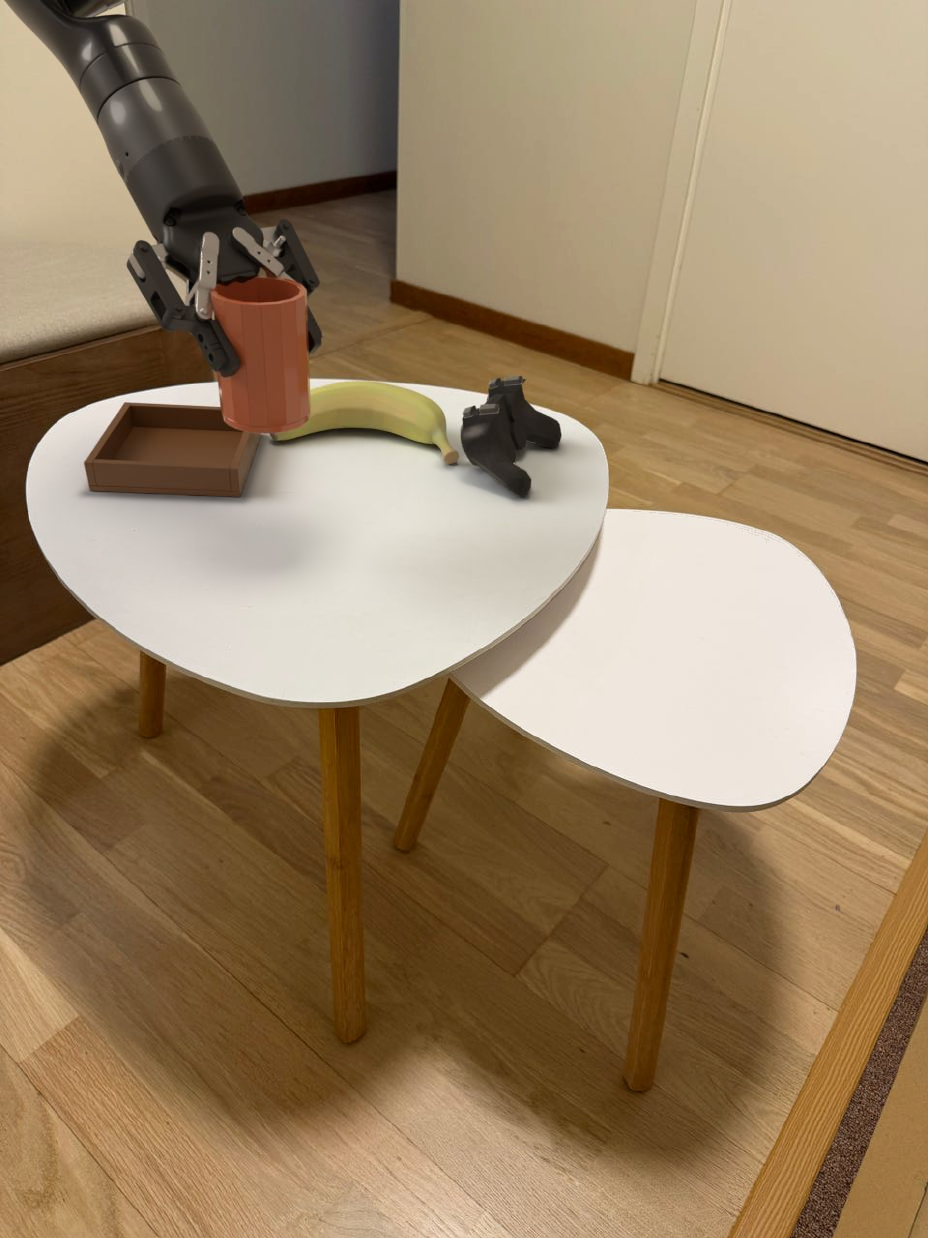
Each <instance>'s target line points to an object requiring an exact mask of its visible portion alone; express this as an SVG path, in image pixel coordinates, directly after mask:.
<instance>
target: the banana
mask: <svg viewBox="0 0 928 1238" xmlns="http://www.w3.org/2000/svg"><path fill="white" fill-rule="evenodd" d="M310 397H311V408H310V418H309V420H308V421H307V422H306V423H305V424H304V425H302V426H301V427H299V428H296V429H293V430H290V431H286V432H280V433H268V435H269V436H270V438H271V439H272V440H273V441H287V440H292V439H293V440H294V439H296V438H299V437H303V436H306V435H309V434H313V433H318V432H322V431H327V430H333V429H335V430H336V429H344V428H347V429H348V428H356V429H357V428H358V429H359V428H360V429H374V430H378V431H384V432H389V433H392V434H395V435H397V436H401V437H404V438H406V439H408V440H411V441H414V442H418V443H420V444H421V443H423V444H430V445H436V446H437V447H438V448H439V449H440V451H441V454H442V458H443V461H444V463H445V464H450V465H452V464H455V463H457V462H459V459H460V455H459V452H458V451H457V450H456V449H454V448H453V447H452V446H451V444H450V443H449V440H448V435H447V418H446V414H445V413H444V411H443V409H442V408H441V407H440V405H439V404H438V403H436V401H434V400H433V399H431V398H430V397H429V396H427V395H425V394H422V393H420V392H417V391H415V390H414V389H413V390H412V389H409V388H407V387H403V386H399V385H395V384H391V383H387V382H379V381H370V380H369V381H368V380H353V381H351V380H350V381H340V382H334V383H333V382H332V383H329V384H328V383H327V384H325V385H321V386H317V387H314V388H310Z"/></svg>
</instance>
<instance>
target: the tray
mask: <svg viewBox="0 0 928 1238" xmlns="http://www.w3.org/2000/svg"><path fill="white" fill-rule="evenodd" d="M261 436H262V433H251V432H245V431H241V430H238V429H235V428H233V427H231V426H229V425H228V424H227V423H226V422H225V421H224V420H223V417H222V410H221V407H220V406H209V405H189V404H171V403H169V404H167V403H150V402H147V403H146V402H129V401H125V402H123V403H122V405H121V407H120V408H119V409H118V411H117V413H116V414H115V416H114V417H113V418H112V420H111V421H110V422H109V424H108V426H107V427H106V429H105V430H104V432H103V434H101V436H100V438H99V439H98V440H97V443H96V444H95V445H94V446H93V448H92V449H91V451H90V452H89V454H88V455H87V457H86V459H85V460H84V462H83V465H84V470H85V475H86V480H87V483H88V489H89V491H90V492H112V493H113V492H114V493H137V494H159V495H160V494H161V495H184V496H209V497H231V498H232V497H234V498H240V497H241V495H242V492H243V489H244V487H245V483H246V480H247V478H248V475H249V472H250V468H251V466H252V463H253V460H254V457H255V455H256V451H257V448H258V445H259V442H260V439H261Z"/></svg>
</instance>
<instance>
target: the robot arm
mask: <svg viewBox="0 0 928 1238" xmlns="http://www.w3.org/2000/svg"><path fill="white" fill-rule="evenodd" d="M3 1H4V2H5V3H6V5H7V6H8V7H9V9H11V11H12V12H13V13H14V14H15V16H16V17H17V18H18V19H19V20H20V21H21V22H22V23H23V24H24V25H25V26H26V27H27V28H28V29H29V30H30V32H31V33H33V35H34V36H36V37H37V39H38V40H39V41H40V42H41V43H42V44H43V45H44V46H45V47H46V48H47V49H48V50H49V51H50V52H51V54H52V55H53V56H54V57H55V58H56V59H57V61H58V62H59V64H61V65H62V67H63V68H64V70H65V71H66V73H67V74H68V76H69V78H70V79H71V80H72V82H73V83H74V85H75V88H76V89H77V91H78V92H79V94H80V95H81V98H82V99H83V101H84V103H85V105H86V107H87V109H88V111H89V113H90V114H91V117H92V118H93V120H94V122H95V124H96V126H97V128H98V130H99V132H100V134H101V135H102V138H103V140H104V143H105V146H106V149H107V152H108V154H109V157H110V159H111V161H112V162H113V165H114V167H115V169H116V171H117V174H118V175H119V177H120V178H121V180H122V182H123V183H124V185H125V187H126V189H127V191H128V192H129V195H130V196H131V198H132V201H133V202H134V204H135V206H136V208H137V210H138V212H139V214H140V215H141V217H142V219H143V221H144V223H145V225H146V226H147V229H148V230H149V232H150V234H151V236H152V238H153V239H154V240H155V241H156V242H157V243H158V244H150V243H149V242H148V241H146V240H143V239H139V240H137V241H136V242H135V244H134V246H133V248H132V250H131V253H130V255H129V257H128V259H127V261H126V264H125V265H126V269H127V270H128V272H129V274H130V276H131V277H132V279H133V281H134V283H135V284H136V286H137V287H138V289H139V291H140V292H141V294H142V296H143V299H144V300H145V301H146V303H147V305H148V307H149V308H150V310H151V312H152V313H153V315H154V317H155V319H156V320H157V322H158V324H159V326H160V327H161V329H162V330H163V331H165V332H167V333H175V332H176V331H185V332H187V333H189V334H190V335H192V336H193V337H194V339H195V340H196V343H197V344H198V346H199V348H200V350H201V352H202V354H203V355H204V358H205V359H206V361H207V363H208V365H209V367H210V368H211V369H212V370H213V371H214V372H215V373H217V372H218V371H219V372H220V374H221V376H222V377H223V378H226V377H230V376H233V375H234V374H235V373H236V371H237V370H238V369H239V367H240V360H239V358H238V356H237V354H236V352H235V350H234V348H233V347H232V345H231V343H230V341H229V339H228V337H227V336H226V334H225V332H224V330H223V328H222V326H221V324H220V323H219V321H218V319H215V320H212V314H213V304H212V300H211V296H210V291H215V289H216V284H220V285H223V286H224V285H225V286H229V285H230V284H232V283H233V282H240V283H245V282H247V281H249V280H251V279H253V277H254V278H255V277H256V276H257V275H259V274H260V271H261V270H263V271H264V273H265V276H269V277H274V278H278V277H280V278H285V279H290V280H293V281H295V282H298V283H300V284H302V285H303V286H304V287H305V288H306V290H307V301H308V300H309V298H310V296H311V295H312V294H313V293H314V292H315V290H317V289H318V287H319V286H320V279H319V277H318V274H317V273H316V270H315V268H314V267H313V265H312V263H311V261H310V259H309V257H308V254H307V251H305V250H306V249H304V246H303V244H302V242H301V240H300V238H299V236H298V234H297V232H296V230H295V228H294V226H293V223H292V222H291V221H290V220H288V219H285V218H280V219H279V221H278V222H277V224H276V225H274V226H266V227H260V226H259V225H258V224H257V223H256V222H255V221H254V220H253V219H252V218H251V217H250V216H249V215H248V212H247V209H246V206H245V201H244V197H243V193H242V191H241V189H240V187H239V185H238V183H237V182H236V180H235V178H234V176H233V174H232V172H231V170H230V168H229V167H228V165H227V162H226V161H225V158H224V157H223V155H222V153H221V151H220V149H219V147H218V145H217V144H216V142H215V140H214V137H213V136H212V134H211V132H210V130H209V128H208V126H207V125H206V123H205V121H204V118H203V117H202V115H201V114H200V112H199V110H198V109H197V108H196V106H195V105H194V103H193V102H192V101H191V99H190V98H189V96H188V95H187V92H185V90H184V88H183V86H182V84H181V82H180V80H179V79H178V77H177V75H176V73H175V71H174V69H173V68H172V65H171V63H170V61H169V59H168V58H167V56H166V53H165V52H164V50H163V48H162V46H161V44H160V43H159V41H158V39H157V37H156V35H155V34H154V32H153V31H152V30H151V28H150V27H149V26H148V25H147V24H146V23H145V22H144V21H142V20H141V19H139V18H137V17H134V16H132V15H129V14H121V13H115V14H114V13H113V14H104V15H103V13H105V12H107V11H111V10H113V9H114V8H116V7H118V6H120V5H123V4H125V3H126V2H128V0H3ZM264 248H265V249H264ZM167 267H169V268H170V269H172V270H173V271H175V272H176V273H178V274H179V275H181V276H182V277H183V278H185V279H186V282H185V283H186V284H185V297H184V298H185V299H184V300H185V301H184V300H183V299H182V297H181V296H180V294H179V292H178V290H177V288H176V287H175V285H174V283H173V281H172V280H171V277H170V276H169V274H168V273H167ZM307 313H308V341H309V356H311V355H314V354H315V353H316V352H317V351H318V350H319V348H320V347H322V342H323V341H322V338H323V332H322V330H321V328H320V326H319V325H318V322H317V320H316V318H315V315H314V314H313V312H312V311H311V309H310V307H309V305H308V304H307Z"/></svg>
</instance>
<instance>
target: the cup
mask: <svg viewBox="0 0 928 1238" xmlns="http://www.w3.org/2000/svg"><path fill="white" fill-rule="evenodd" d="M210 296H211V300H212V304H213V314H212V317H211V318H212V320H215V319H218V321H219V323H220V324H221V326H222V328H223V330H224V332H225V334H226V336H227V337H228V339H229V341H230V343H231V345H232V347H233V348H234V350H235V352H236V354H237V356H238V358H239V360H240V367H239V369H238V370H237V371H236V373H235V374H234V375H233V376H230V377H226V378H223V377H222V376H221V374H220V372H219V371H218V372H216V376H217V377H216V378H217V386H218V396H219V405H220V406H219V407H221V410H222V417H223V420H224V421H225V422H226V423H227V424H228V425H229V426H231V427H233V428H235V429H238V430H241V431H245V432H251V433H261V434H264V435H265V434H268V435H269V433H280V432H286V431H290V430H293V429H296V428H299V427H301V426H302V425H304V424H305V423H306V422H307V421H308V420H309V418H310V408H311V397H310V390H311V373H310V369H311V368H310V355H309V341H308V313H307V305H308V300H307V290H306V288H305V287H304V286H303V285H302V284H300V283H298V282H295V281H293V280H290V279H285V278H280V277H278V278H274V277H269V276H266V275H259V274H258V275H257V276H256V277H255V278H254V277H253V279H251V280H249V281H247V282H245V283H240V282H233V283H232V284H230V285H229V286H225V285H224V286H223V285H220V284H216V289H215V291H210Z"/></svg>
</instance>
